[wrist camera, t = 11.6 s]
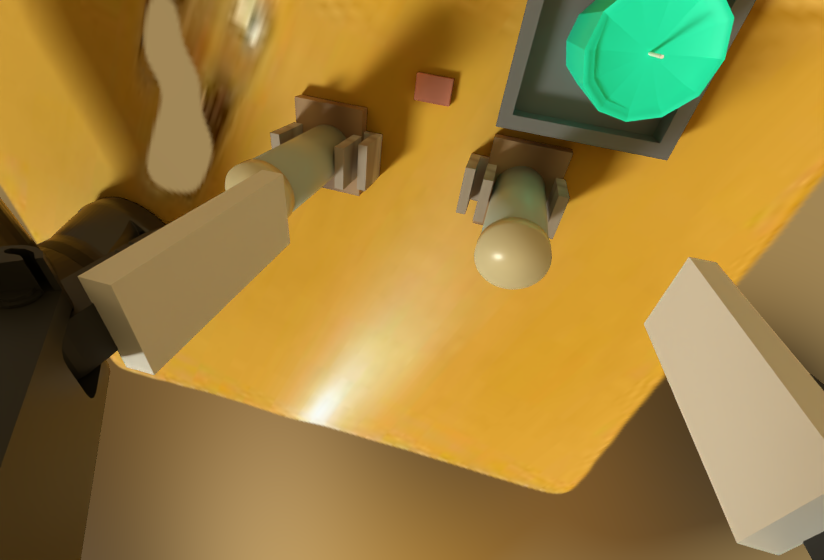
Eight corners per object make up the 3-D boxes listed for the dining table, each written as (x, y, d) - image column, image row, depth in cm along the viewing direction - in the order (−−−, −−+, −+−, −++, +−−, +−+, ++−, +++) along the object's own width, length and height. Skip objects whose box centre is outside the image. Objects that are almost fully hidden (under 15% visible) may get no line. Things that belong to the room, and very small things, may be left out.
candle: (684, 27, 24) (788, 31, 14) (607, 109, 27) (649, 156, 18) (617, -36, 23) (679, -76, 13) (546, 57, 26) (556, 77, 17)
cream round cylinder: (305, 166, 36) (228, 217, 26) (306, 117, 33) (221, 155, 24) (349, 179, 36) (287, 235, 26) (353, 130, 33) (287, 174, 23)
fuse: (485, 206, 34) (465, 275, 24) (502, 158, 31) (487, 214, 21) (533, 221, 33) (533, 298, 24) (555, 173, 30) (565, 238, 21)
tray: (498, 118, 30) (495, 126, 28) (552, -95, 23) (554, -107, 21) (656, 149, 29) (667, 160, 26) (771, -69, 21) (800, -80, 19)
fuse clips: (304, 177, 38) (276, 196, 34) (297, 49, 31) (262, 53, 27) (541, 233, 35) (543, 261, 31) (592, 103, 28) (603, 118, 24)
